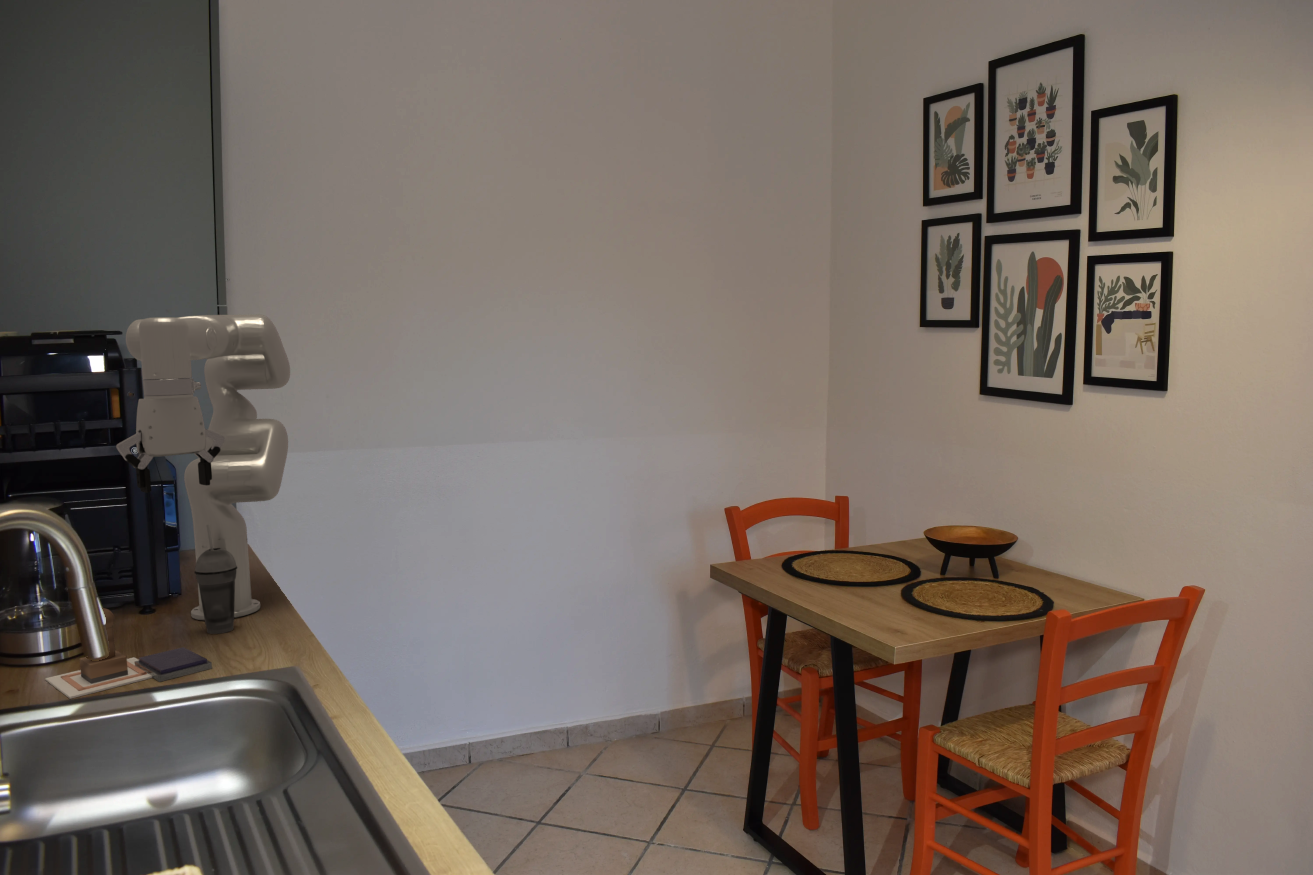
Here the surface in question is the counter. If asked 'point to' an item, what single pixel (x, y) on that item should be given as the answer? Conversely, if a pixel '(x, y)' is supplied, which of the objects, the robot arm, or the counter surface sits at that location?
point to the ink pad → (173, 664)
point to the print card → (79, 686)
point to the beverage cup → (217, 587)
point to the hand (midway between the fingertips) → (176, 488)
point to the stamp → (109, 666)
